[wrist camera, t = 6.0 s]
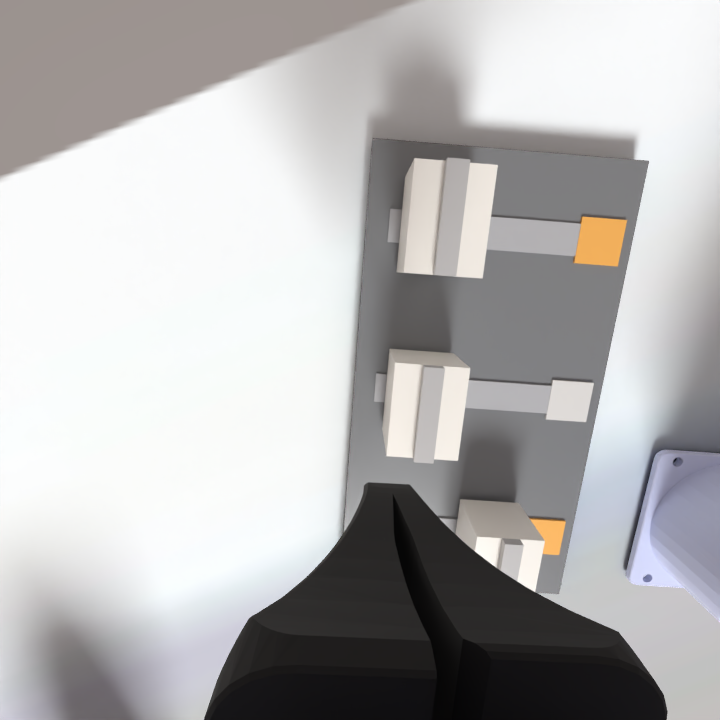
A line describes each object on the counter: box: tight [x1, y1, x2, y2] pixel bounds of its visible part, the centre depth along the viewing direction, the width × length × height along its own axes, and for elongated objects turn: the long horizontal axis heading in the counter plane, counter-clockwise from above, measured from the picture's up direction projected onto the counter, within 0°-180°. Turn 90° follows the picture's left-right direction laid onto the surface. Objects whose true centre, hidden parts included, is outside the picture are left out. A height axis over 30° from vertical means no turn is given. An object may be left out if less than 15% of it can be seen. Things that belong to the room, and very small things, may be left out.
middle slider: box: [382, 349, 470, 464], centre depth 18 cm, size 3×4×3 cm
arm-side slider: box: [456, 499, 545, 592], centre depth 20 cm, size 3×4×3 cm
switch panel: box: [344, 138, 649, 594], centre depth 20 cm, size 12×22×1 cm, turn 176°
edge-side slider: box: [397, 158, 498, 278], centre depth 16 cm, size 3×4×3 cm
